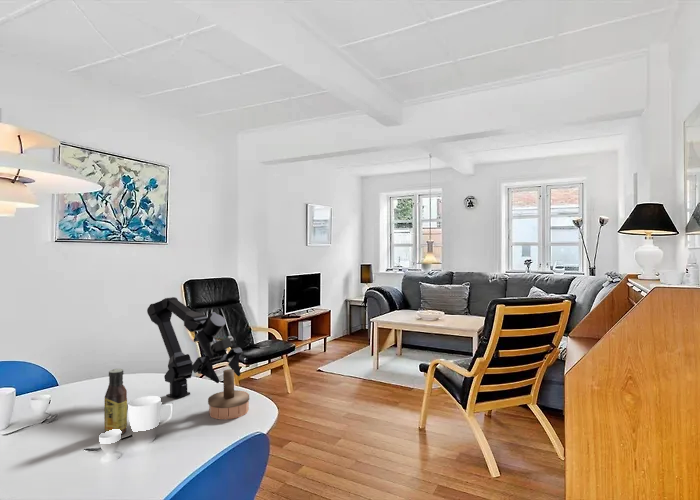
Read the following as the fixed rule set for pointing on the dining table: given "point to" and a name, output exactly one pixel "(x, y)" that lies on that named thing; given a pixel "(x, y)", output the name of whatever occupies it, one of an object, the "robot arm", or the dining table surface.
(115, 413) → the sauce bottle
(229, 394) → the walnut lid
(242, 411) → the terracotta bowl
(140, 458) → the dining table surface
